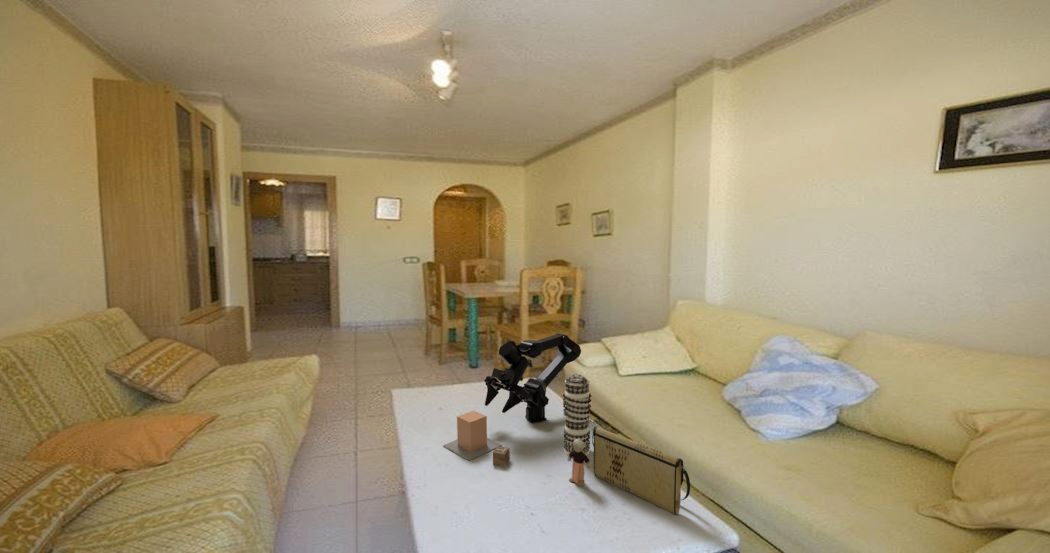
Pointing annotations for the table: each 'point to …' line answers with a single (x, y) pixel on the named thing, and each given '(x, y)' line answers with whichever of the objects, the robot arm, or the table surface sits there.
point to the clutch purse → (639, 469)
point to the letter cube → (501, 456)
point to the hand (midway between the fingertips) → (494, 408)
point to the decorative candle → (576, 412)
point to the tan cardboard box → (472, 430)
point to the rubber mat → (474, 454)
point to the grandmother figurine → (578, 462)
